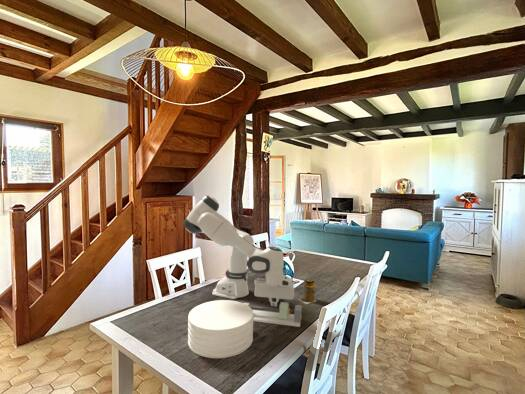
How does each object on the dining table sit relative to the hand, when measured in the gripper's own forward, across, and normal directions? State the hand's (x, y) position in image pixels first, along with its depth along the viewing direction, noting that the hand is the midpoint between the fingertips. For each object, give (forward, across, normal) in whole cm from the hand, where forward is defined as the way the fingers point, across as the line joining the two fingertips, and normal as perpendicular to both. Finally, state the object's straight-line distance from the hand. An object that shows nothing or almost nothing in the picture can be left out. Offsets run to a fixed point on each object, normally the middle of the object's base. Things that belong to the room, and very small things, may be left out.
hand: (273, 305), depth 143 cm
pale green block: (+5, +5, -1) cm, 7 cm away
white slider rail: (+6, -1, -1) cm, 6 cm away
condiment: (+7, +16, +26) cm, 31 cm away
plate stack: (+7, -20, -24) cm, 32 cm away
